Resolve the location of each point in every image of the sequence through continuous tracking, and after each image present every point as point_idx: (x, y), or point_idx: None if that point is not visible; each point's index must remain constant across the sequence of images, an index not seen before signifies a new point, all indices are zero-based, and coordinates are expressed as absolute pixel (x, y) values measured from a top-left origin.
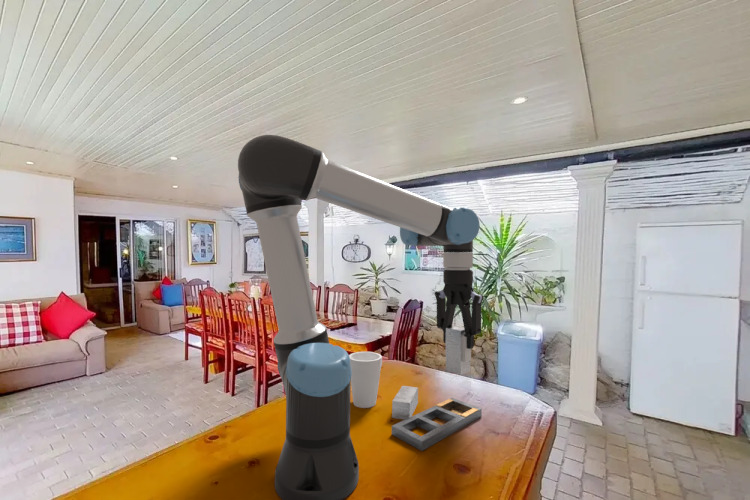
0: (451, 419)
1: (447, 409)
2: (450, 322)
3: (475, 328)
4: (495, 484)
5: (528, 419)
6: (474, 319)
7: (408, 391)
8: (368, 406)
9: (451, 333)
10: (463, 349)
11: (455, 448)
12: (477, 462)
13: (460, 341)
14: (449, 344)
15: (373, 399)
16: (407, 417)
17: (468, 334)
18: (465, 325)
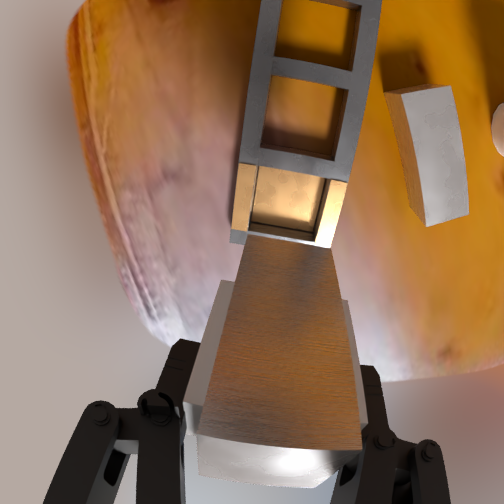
0: (278, 147)
1: (320, 207)
2: (339, 501)
3: (75, 437)
4: (100, 5)
5: (152, 278)
6: (61, 498)
7: (441, 181)
8: (497, 110)
9: (302, 413)
10: (219, 329)
11: (209, 39)
12: (147, 31)
13: (217, 358)
14: (319, 342)
15: (501, 124)
16: (391, 91)
17: (139, 405)
18: (161, 478)
